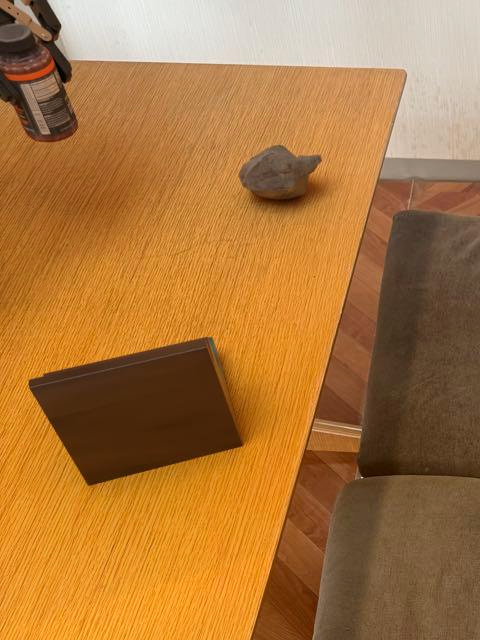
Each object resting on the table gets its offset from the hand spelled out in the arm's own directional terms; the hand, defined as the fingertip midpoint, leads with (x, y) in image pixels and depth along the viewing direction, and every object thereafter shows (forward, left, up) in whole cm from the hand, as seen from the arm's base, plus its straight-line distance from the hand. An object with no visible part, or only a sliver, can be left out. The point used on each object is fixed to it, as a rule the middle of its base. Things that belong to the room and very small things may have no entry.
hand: (43, 90), depth 100 cm
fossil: (+23, +8, -20) cm, 31 cm away
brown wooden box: (+11, -33, -20) cm, 40 cm away
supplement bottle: (-1, +1, -6) cm, 6 cm away
